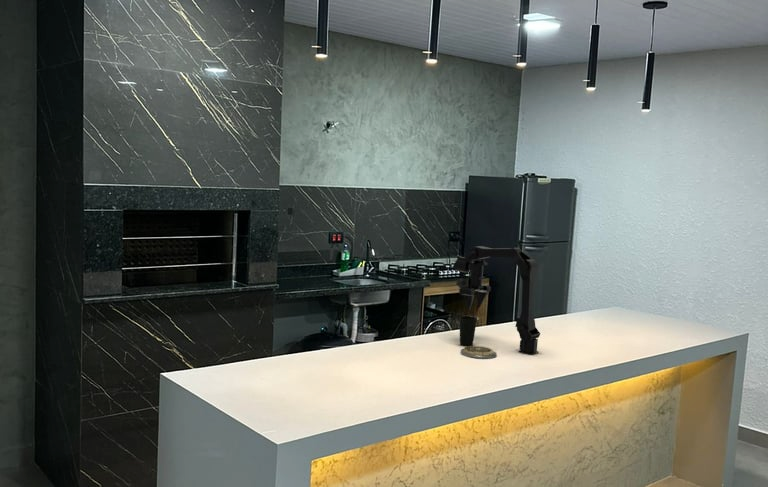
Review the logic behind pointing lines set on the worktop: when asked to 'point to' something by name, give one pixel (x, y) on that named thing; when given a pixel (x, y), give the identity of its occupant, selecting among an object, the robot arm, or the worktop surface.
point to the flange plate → (478, 352)
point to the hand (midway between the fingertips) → (473, 308)
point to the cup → (467, 330)
